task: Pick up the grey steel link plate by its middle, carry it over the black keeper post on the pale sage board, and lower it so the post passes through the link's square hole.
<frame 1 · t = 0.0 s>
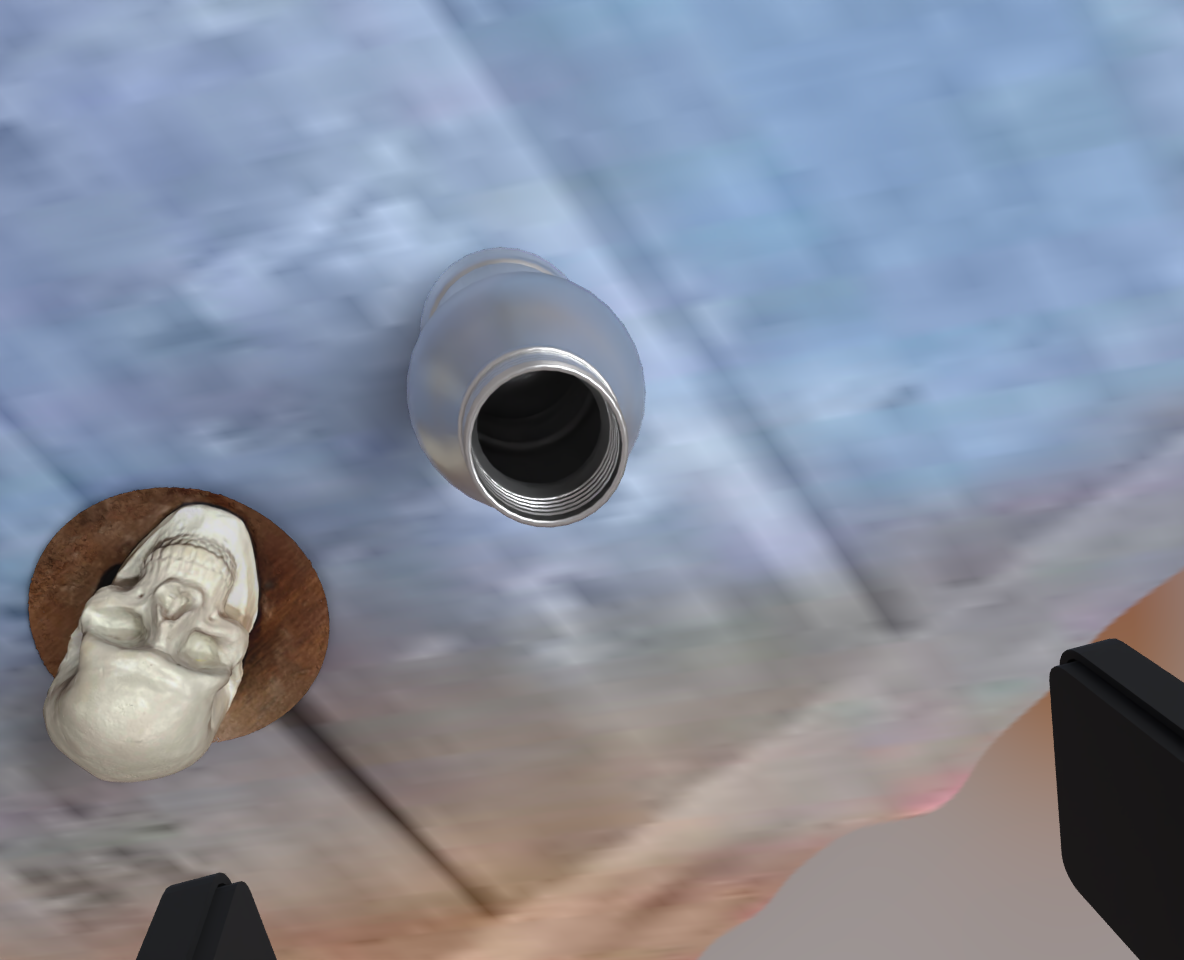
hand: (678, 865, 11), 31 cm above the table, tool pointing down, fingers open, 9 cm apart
plastic bottle: (502, 326, 40), on the table
skull: (186, 615, 42), on the table
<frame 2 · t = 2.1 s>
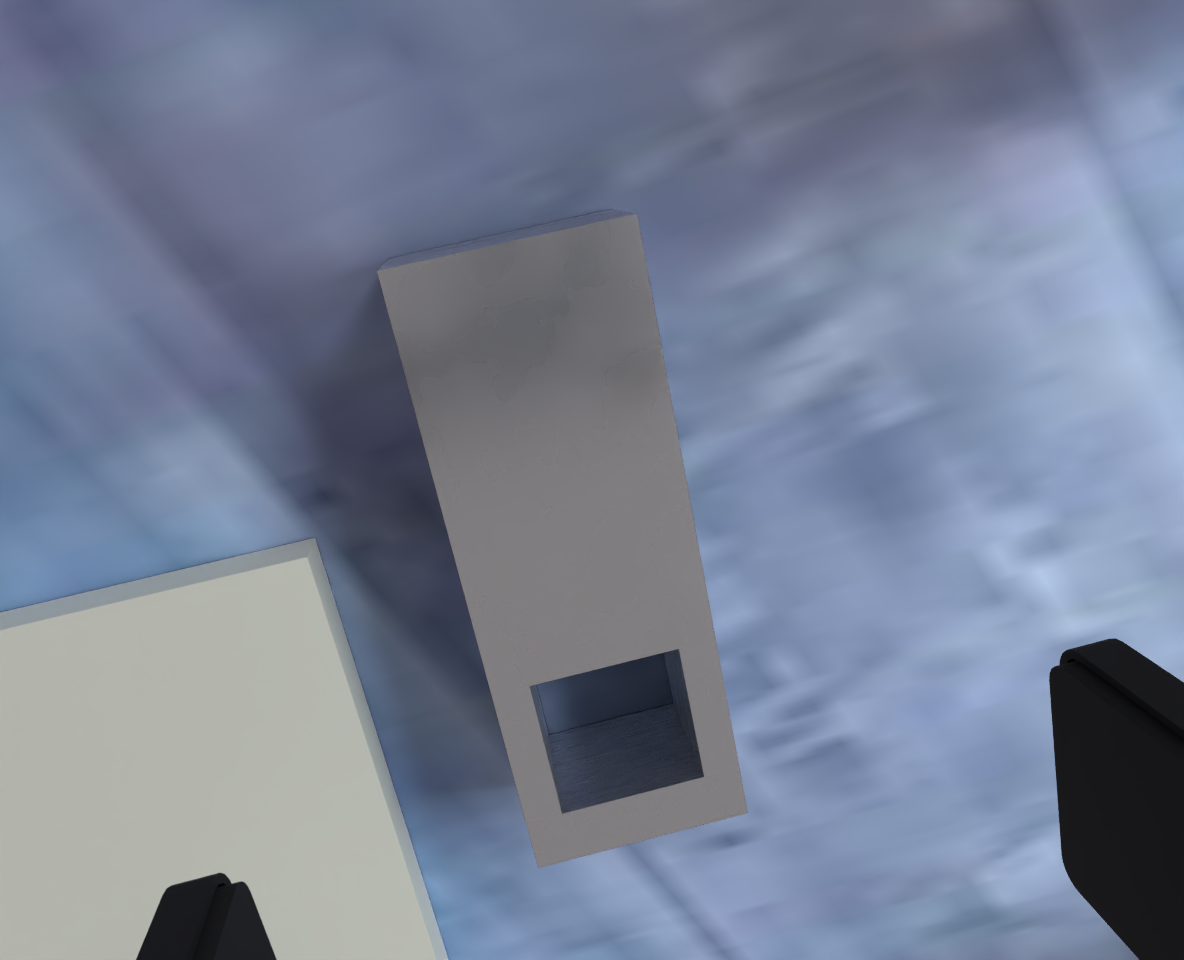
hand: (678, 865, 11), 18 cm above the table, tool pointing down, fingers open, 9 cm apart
link plate: (564, 512, 28), on the table
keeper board: (162, 833, 30), on the table
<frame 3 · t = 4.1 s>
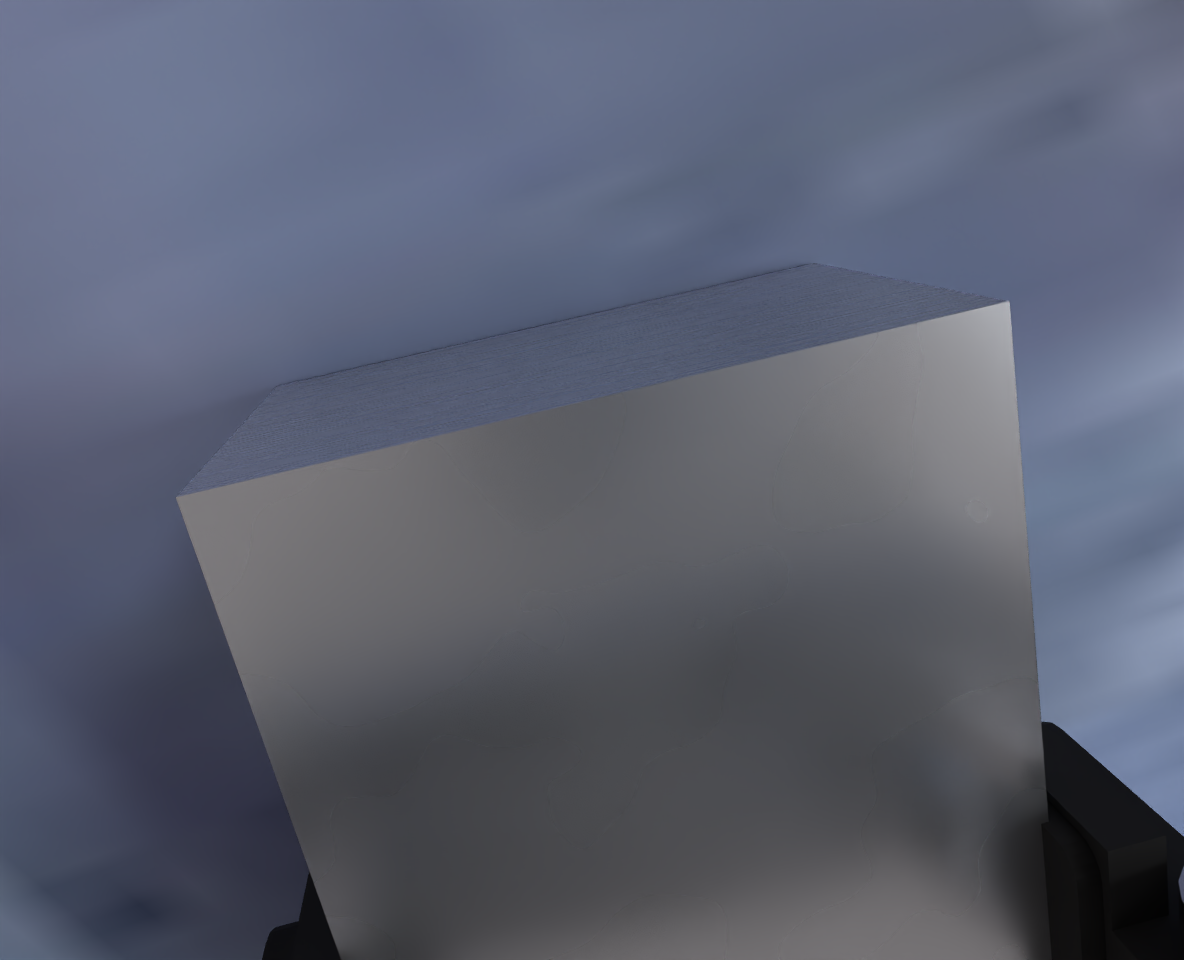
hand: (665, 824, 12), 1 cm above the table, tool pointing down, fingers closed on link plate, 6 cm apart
link plate: (680, 911, 13), on the table, touching gripper
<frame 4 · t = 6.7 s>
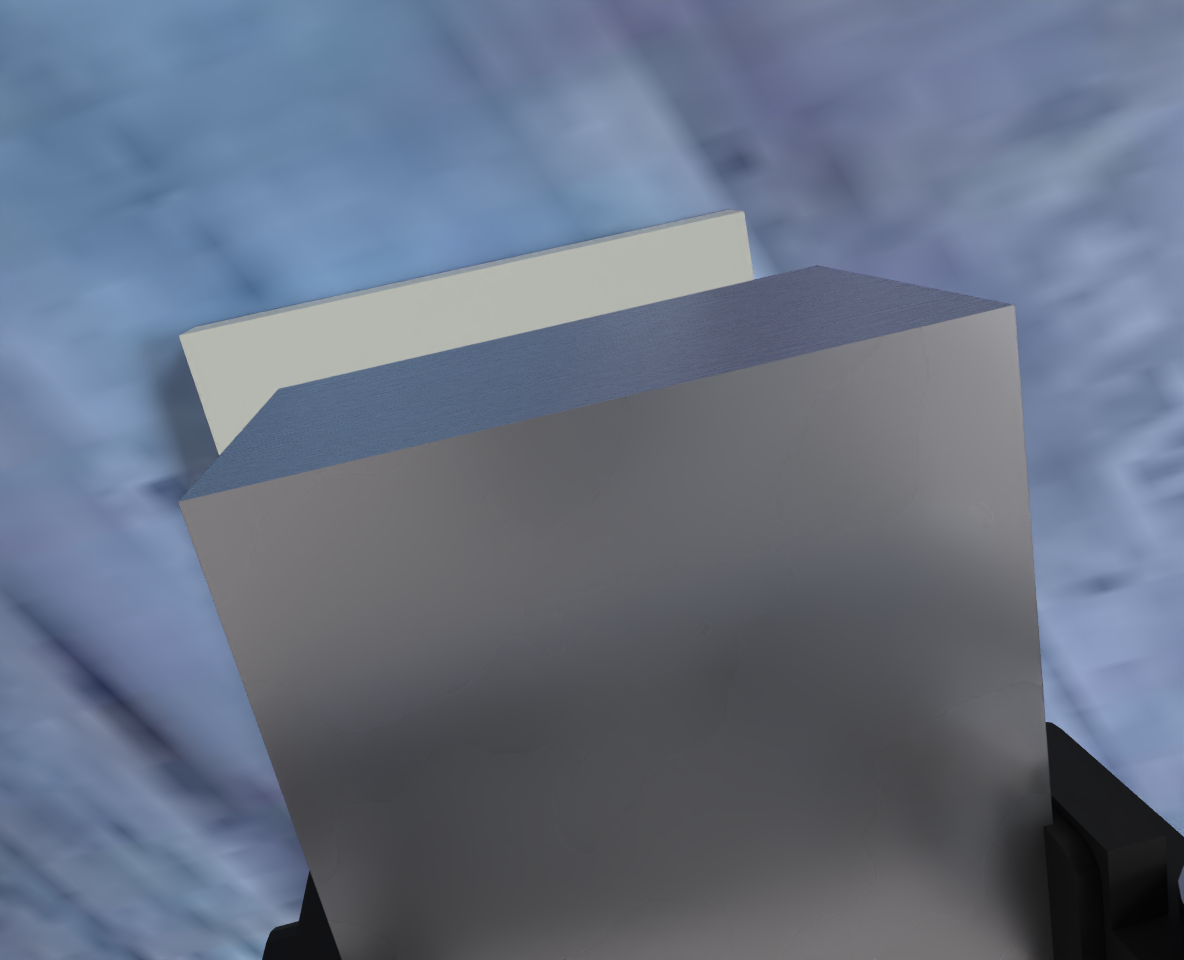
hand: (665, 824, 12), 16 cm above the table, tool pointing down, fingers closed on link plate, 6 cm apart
link plate: (682, 914, 13), point 15 cm above the table, touching gripper
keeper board: (533, 549, 28), on the table
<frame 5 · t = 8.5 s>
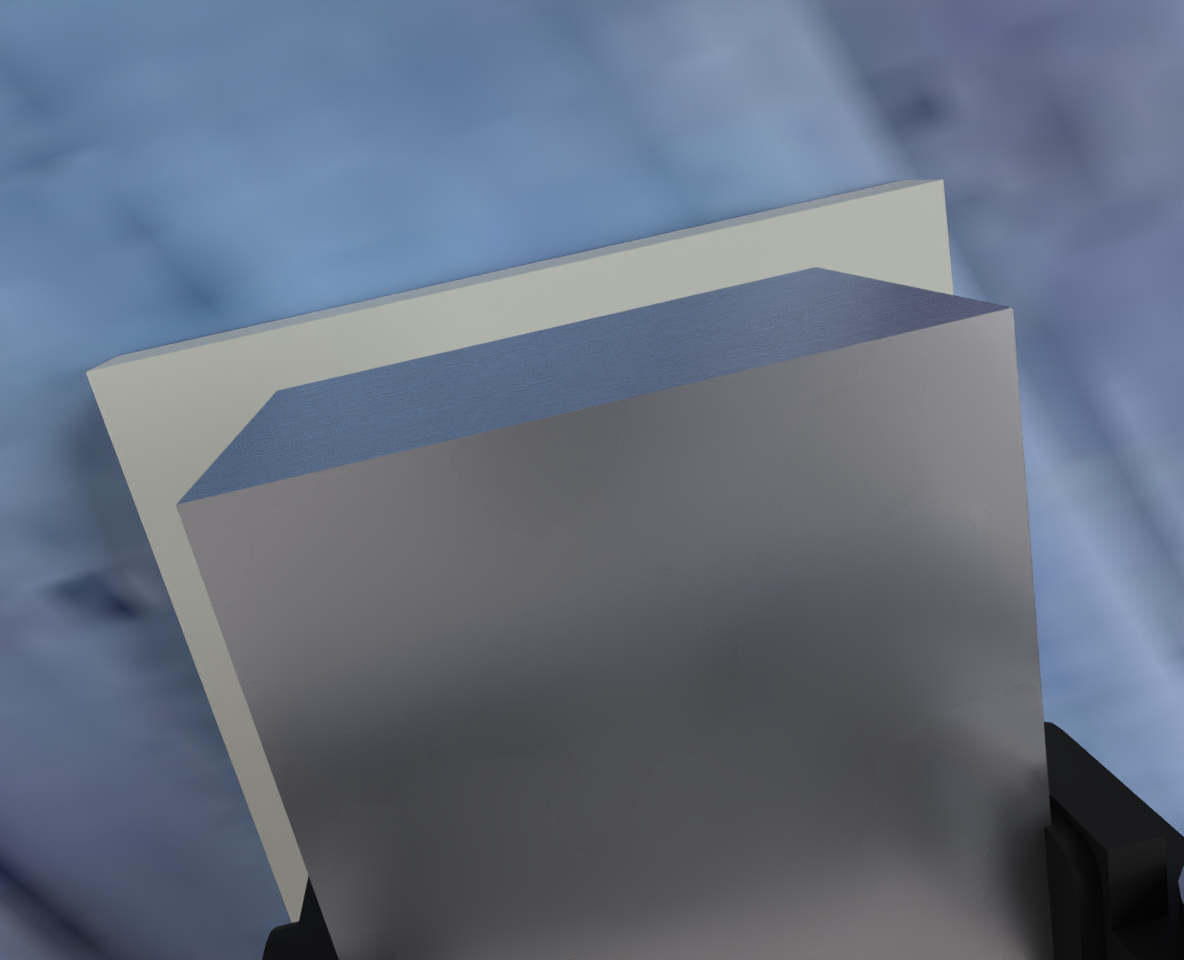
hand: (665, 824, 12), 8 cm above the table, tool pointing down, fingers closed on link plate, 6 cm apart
link plate: (681, 916, 13), point 7 cm above the table, touching gripper
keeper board: (611, 666, 19), on the table
when the fingers open (4 cm above the table, at t = 9.6 s): link plate drops 2 cm, resting on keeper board.
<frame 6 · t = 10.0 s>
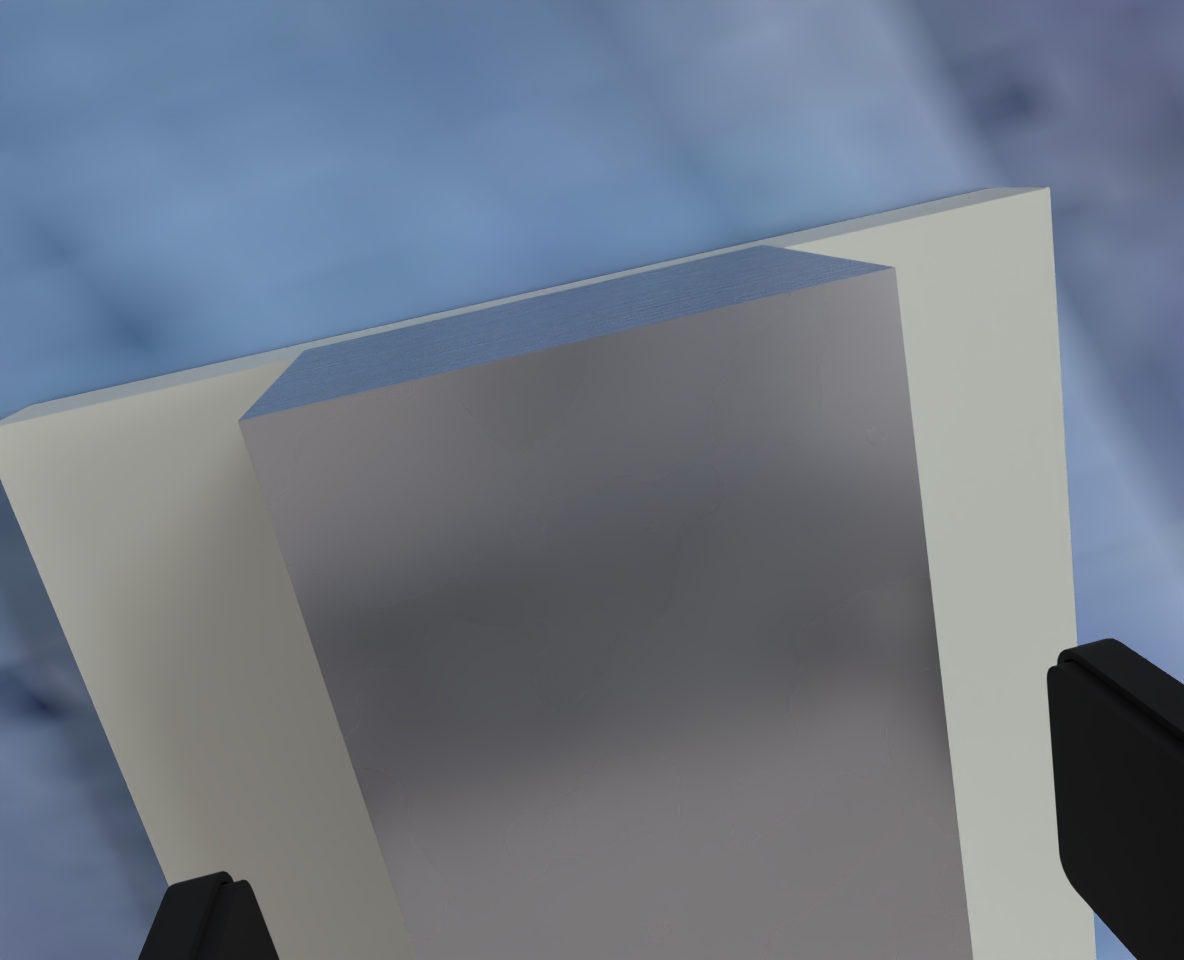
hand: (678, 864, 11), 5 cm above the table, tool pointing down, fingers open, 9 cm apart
link plate: (654, 815, 15), point 1 cm above the table, touching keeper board
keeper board: (634, 766, 16), on the table
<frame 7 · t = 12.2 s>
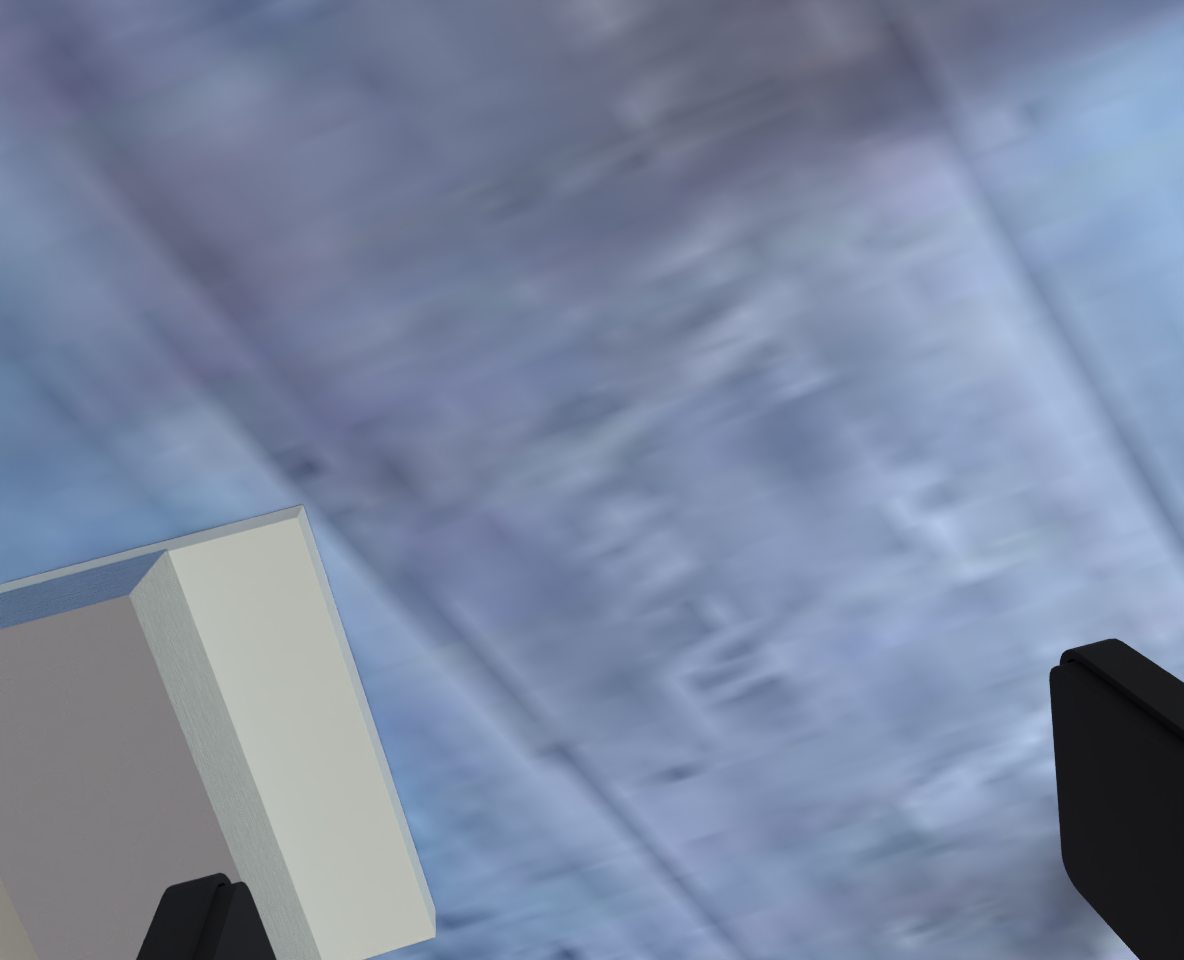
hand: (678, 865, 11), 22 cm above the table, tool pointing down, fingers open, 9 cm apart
link plate: (159, 799, 32), point 1 cm above the table, touching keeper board
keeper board: (169, 778, 33), on the table
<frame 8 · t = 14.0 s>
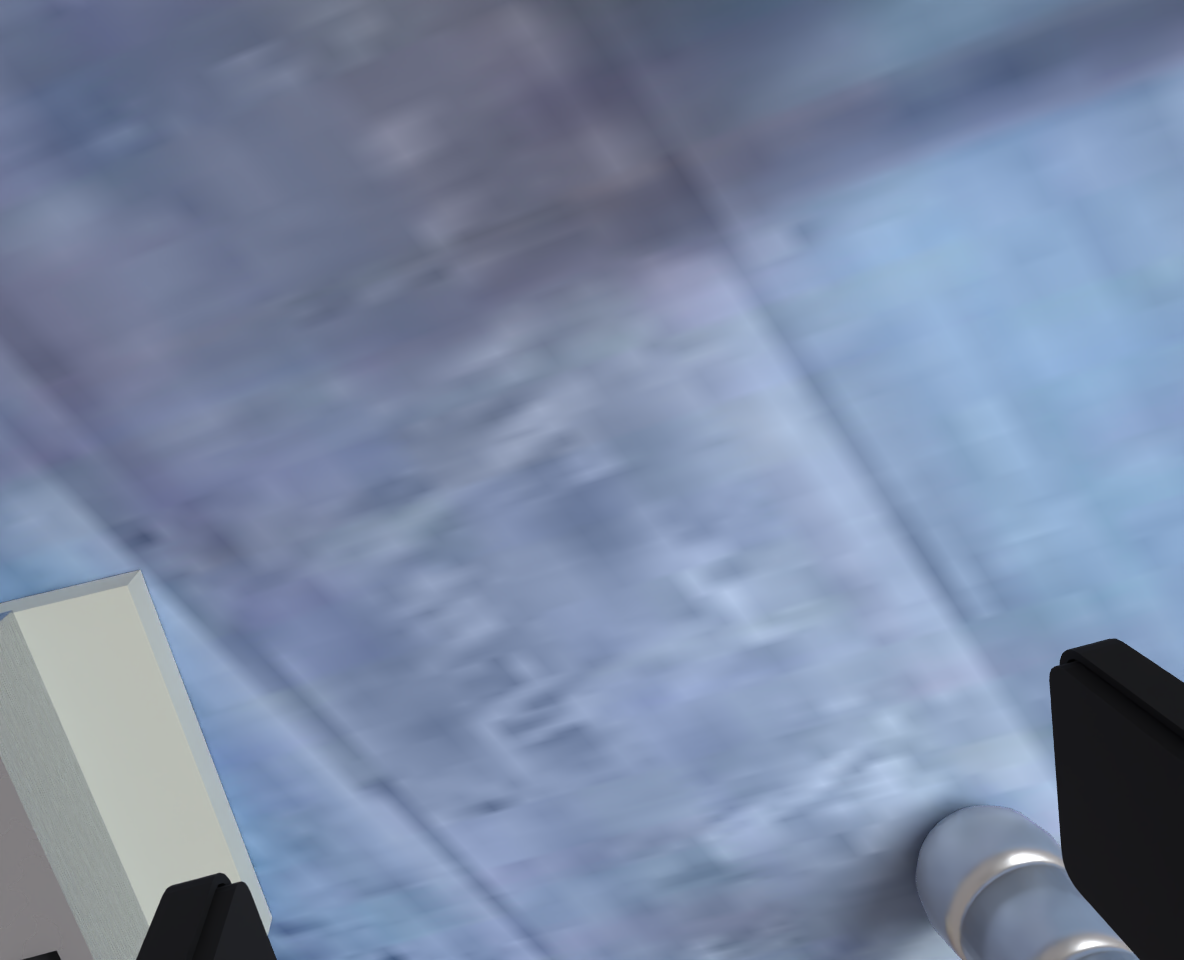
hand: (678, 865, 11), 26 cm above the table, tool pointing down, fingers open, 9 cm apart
plastic bottle: (963, 845, 45), on the table
link plate: (13, 822, 36), point 1 cm above the table, touching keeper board
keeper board: (29, 800, 38), on the table
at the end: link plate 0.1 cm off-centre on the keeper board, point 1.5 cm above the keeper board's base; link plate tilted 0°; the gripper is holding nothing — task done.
